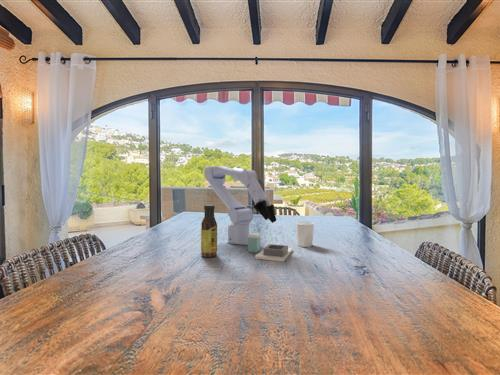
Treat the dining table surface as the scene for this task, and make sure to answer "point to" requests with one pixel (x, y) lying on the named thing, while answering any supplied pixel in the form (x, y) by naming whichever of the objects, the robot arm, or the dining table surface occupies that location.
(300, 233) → the white cup
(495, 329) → the dining table surface
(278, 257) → the outlet plate
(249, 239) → the block
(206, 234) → the sauce bottle
